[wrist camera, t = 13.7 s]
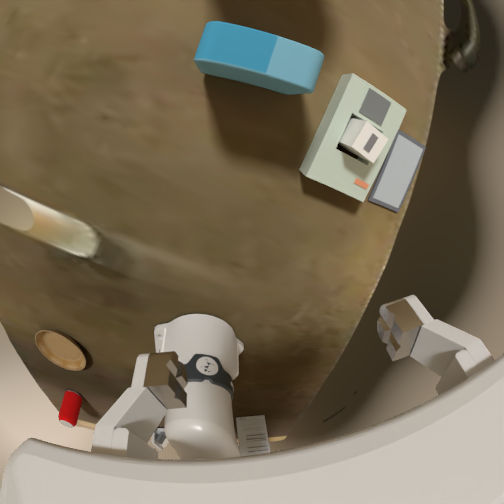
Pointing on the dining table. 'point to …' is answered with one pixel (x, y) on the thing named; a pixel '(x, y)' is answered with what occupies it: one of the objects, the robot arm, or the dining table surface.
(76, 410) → the beverage can
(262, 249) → the dining table surface
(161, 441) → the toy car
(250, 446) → the supplement box
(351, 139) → the plug
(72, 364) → the plant saucer
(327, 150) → the socket strip
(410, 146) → the phone
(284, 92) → the blue rounded block
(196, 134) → the dining table surface
